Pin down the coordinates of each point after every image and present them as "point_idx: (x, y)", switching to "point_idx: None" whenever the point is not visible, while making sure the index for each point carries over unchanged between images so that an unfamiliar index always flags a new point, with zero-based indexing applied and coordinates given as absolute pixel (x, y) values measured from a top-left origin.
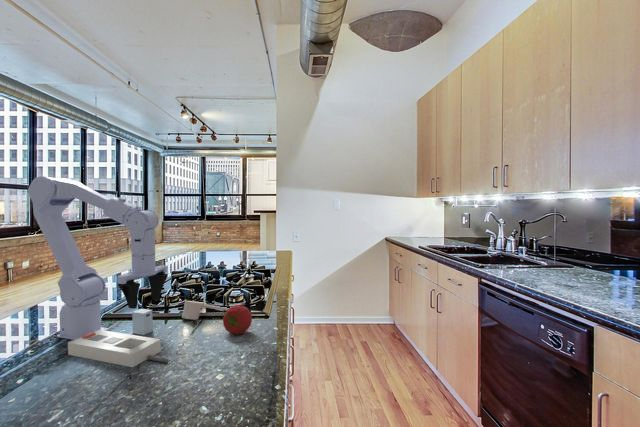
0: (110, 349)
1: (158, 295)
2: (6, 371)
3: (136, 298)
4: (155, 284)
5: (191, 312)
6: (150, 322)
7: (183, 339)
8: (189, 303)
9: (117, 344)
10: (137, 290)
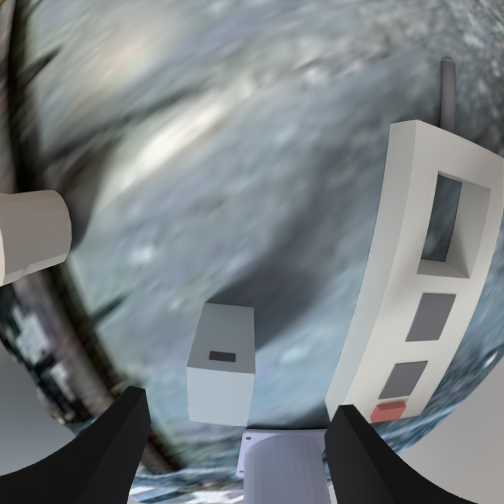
0: (487, 264)
1: (131, 409)
2: (452, 411)
3: (374, 451)
4: (108, 498)
5: (41, 210)
6: (211, 327)
7: (263, 90)
8: (10, 239)
9: (457, 276)
10: (403, 500)
